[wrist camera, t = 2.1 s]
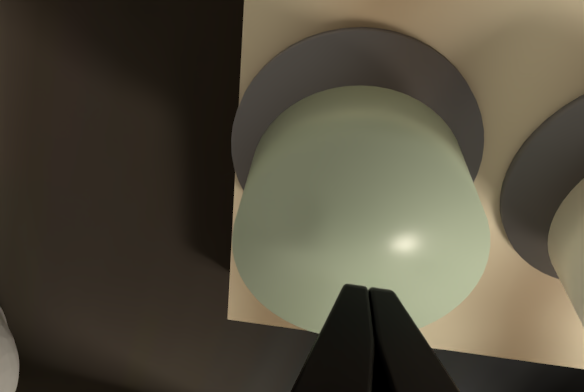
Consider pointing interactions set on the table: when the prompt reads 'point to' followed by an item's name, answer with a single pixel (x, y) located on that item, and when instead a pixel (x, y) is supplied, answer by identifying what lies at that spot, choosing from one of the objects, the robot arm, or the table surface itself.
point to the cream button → (570, 246)
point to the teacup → (8, 358)
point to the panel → (464, 125)
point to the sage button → (359, 208)
